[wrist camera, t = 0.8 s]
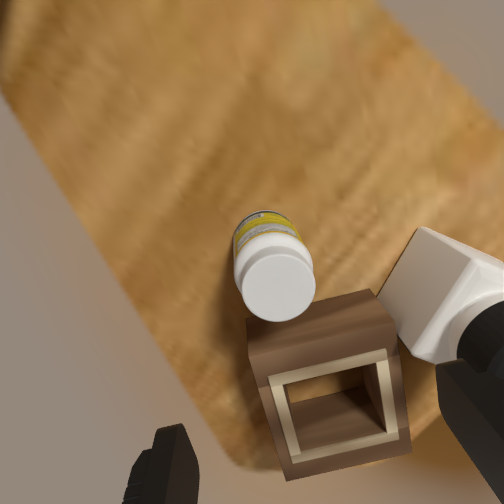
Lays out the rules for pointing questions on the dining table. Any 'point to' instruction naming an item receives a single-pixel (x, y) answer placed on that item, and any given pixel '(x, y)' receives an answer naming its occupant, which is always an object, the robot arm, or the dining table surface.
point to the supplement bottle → (272, 267)
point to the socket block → (338, 404)
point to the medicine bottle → (448, 302)
